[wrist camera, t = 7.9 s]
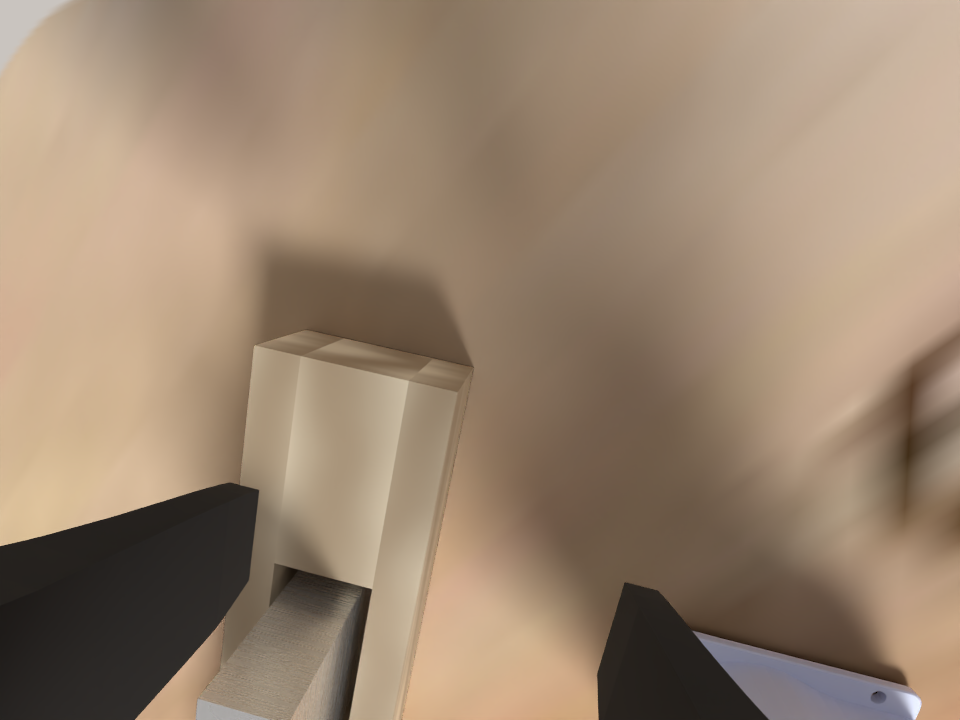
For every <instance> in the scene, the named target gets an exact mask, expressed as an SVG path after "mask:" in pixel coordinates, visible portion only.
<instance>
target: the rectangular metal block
mask: <svg viewBox="0 0 960 720" xmlns="http://www.w3.org/2000/svg"><path fill="white" fill-rule="evenodd" d="M371 593H372V589H370V588H366V587H362V586H359V585H355V584H351V583H347V582H343V581H340V580H336V579H332V578H328V577H325V576H321V575H317V574H313V573H309V572H306V571H302V570H298V572H297V573H296V574H295V575H294V577H293V578H292V579H291V580H290V582H289V583H288V584H287V586H286V587H285V588H284V589H283V591H282V592H281V593H280V594H279V596H278V597H277V598H276V600H275V601H274V602H273V603H272V605H271V606H270V607H269V608H268V610H267V611H266V612H265V614H264V615H263V616H262V617H261V619H260V620H259V621H258V622H257V624H256V625H255V626H254V628H253V629H252V630H251V631H250V633H249V634H248V635H247V636H246V638H245V639H244V640H243V642H242V643H241V644H240V645H239V647H238V648H237V649H236V650H235V652H234V653H233V654H232V656H231V657H230V658H229V659H228V661H227V662H226V663H225V664H224V666H223V667H222V668H221V670H220V671H219V672H218V673H217V675H216V676H215V677H214V678H213V680H212V681H211V682H210V684H209V685H208V686H207V687H206V689H205V690H204V691H203V692H202V694H201V695H200V696H199V698H198V700H197V711H196V720H342V718H343V716H344V714H345V712H346V709H347V707H348V705H349V702H350V700H351V698H352V696H353V693H354V690H355V684H356V678H357V673H358V667H359V661H360V656H361V650H362V644H363V638H364V633H365V627H366V621H367V616H368V610H369V604H370V599H371Z"/></svg>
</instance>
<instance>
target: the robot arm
mask: <svg viewBox="0 0 960 720" xmlns="http://www.w3.org/2000/svg"><path fill="white" fill-rule="evenodd" d="M258 498H259V490H258V489H254V488H250V487H246V486H242V485H238V484H234V483H226V484H221V485H217V486H213V487H210V488H206V489H202V490H199V491H196V492H192V493H189V494H186V495H182V496H179V497H176V498H173V499H169V500H166V501H163V502H160V503H157V504H153V505H150V506H147V507H144V508H140V509H137V510H134V511H131V512H127V513H124V514H121V515H117V516H114V517H111V518H107V519H103V520H100V521H96V522H92V523H89V524H85V525H82V526H78V527H74V528H71V529H67V530H64V531H60V532H56V533H53V534H49V535H45V536H42V537H37V538H33V539H29V540H25V541H21V542H17V543H12V544H8V545H4V546H0V720H135V719H136V718H137V717H138V715H139V714H140V713H141V712H142V711H143V710H144V709H145V708H146V706H147V705H148V704H149V703H150V702H151V701H152V700H153V699H154V698H155V696H156V695H157V694H158V693H159V692H160V691H161V690H162V689H163V687H164V686H165V685H166V684H167V683H168V682H169V681H170V680H171V679H172V677H173V676H174V675H175V674H176V673H177V672H178V671H179V670H180V668H181V667H182V666H183V665H184V664H185V663H186V662H187V661H188V659H189V658H190V657H191V656H192V655H193V654H194V653H195V651H196V650H197V649H198V648H199V647H200V646H201V645H202V644H203V642H204V641H205V640H206V639H207V638H208V637H209V635H210V634H211V633H212V632H213V631H214V630H215V629H216V627H217V626H218V625H219V623H220V622H221V620H222V619H223V618H224V616H225V615H226V613H227V612H228V611H229V609H230V608H231V606H232V605H233V603H234V602H235V601H236V599H237V598H238V596H239V595H240V593H241V592H242V590H243V589H244V587H245V586H246V584H247V583H248V581H249V576H250V567H251V559H252V550H253V541H254V532H255V524H256V515H257V506H258ZM597 679H598V713H599V720H915V719H916V717H917V715H918V712H919V710H920V708H921V704H922V702H921V699H920V698H919V697H918V695H917V694H916V693H915V692H914V691H913V690H912V689H911V688H910V687H907V686H905V685H901V684H897V683H893V682H889V681H885V680H881V679H878V678H874V677H870V676H866V675H862V674H858V673H854V672H850V671H847V670H843V669H839V668H835V667H831V666H827V665H823V664H819V663H816V662H812V661H808V660H804V659H800V658H796V657H792V656H788V655H784V654H781V653H777V652H773V651H769V650H765V649H761V648H757V647H753V646H750V645H746V644H742V643H738V642H734V641H730V640H726V639H722V638H719V637H715V636H711V635H707V634H703V633H699V632H695V631H692V630H691V629H690V628H689V626H688V625H687V624H686V623H685V622H684V620H683V619H682V618H681V617H680V616H679V614H678V613H677V612H676V611H675V610H674V608H673V607H672V606H671V605H670V604H669V602H668V601H667V600H666V599H665V598H664V597H663V596H662V595H661V594H660V592H659V591H657V590H653V589H649V588H645V587H641V586H637V585H633V584H629V583H626V582H625V583H624V587H623V590H622V593H621V597H620V600H619V603H618V607H617V610H616V613H615V617H614V620H613V623H612V627H611V630H610V633H609V637H608V640H607V643H606V647H605V650H604V653H603V657H602V660H601V663H600V667H599V670H598V673H597ZM877 691H878V692H877ZM874 692H877V693H876V694H874V695H872V694H873V693H874Z"/></svg>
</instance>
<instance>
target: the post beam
mask: <svg viewBox="0 0 960 720" xmlns="http://www.w3.org/2000/svg"><path fill="white" fill-rule="evenodd" d="M473 368H474V367H470V366H465V365H461V364H456V363H452V362H448V361H443V360H439V359H434V358H430V357H425V356H421V355H417V354H412V353H408V352H403V351H399V350H394V349H390V348H385V347H381V346H377V345H372V344H368V343H363V342H359V341H354V340H350V339H346V338H341V337H337V336H332V335H328V334H323V333H319V332H314V331H310V330H303V331H300V332H297V333H293V334H290V335H287V336H283V337H280V338H277V339H273V340H270V341H267V342H264V343H260V344H257V345H254V352H253V361H252V371H251V380H250V390H249V399H248V409H247V418H246V427H245V437H244V446H243V456H242V465H241V475H240V484H239V485H242V486H246V487H250V488H254V489H258V490H259V498H258V506H257V515H256V524H255V532H254V541H253V550H252V559H251V567H250V576H249V581H248V583H247V584H246V586H245V587H244V589H243V590H242V592H241V593H240V595H239V596H238V598H237V599H236V601H235V602H234V603H233V605H232V606H231V608H230V609H229V611H228V612H227V613H226V617H225V627H224V636H223V646H222V655H221V665H220V670H221V668H222V667H223V666H224V664H225V663H226V662H227V661H228V659H229V658H230V657H231V656H232V654H233V653H234V652H235V650H236V649H237V648H238V647H239V645H240V644H241V643H242V642H243V640H244V639H245V638H246V636H247V635H248V634H249V633H250V631H251V630H252V629H253V628H254V626H255V625H256V624H257V622H258V621H259V620H260V619H261V617H262V616H263V615H264V614H265V612H266V611H267V610H268V608H269V607H270V606H271V605H272V603H273V602H274V601H275V600H276V598H277V597H278V596H279V594H280V593H281V592H282V591H283V589H284V588H285V587H286V586H287V584H288V583H289V582H290V580H291V579H292V578H293V577H294V575H295V574H296V573H297V572H298V570H302V571H306V572H309V573H313V574H317V575H321V576H325V577H328V578H332V579H336V580H340V581H343V582H347V583H351V584H355V585H359V586H362V587H366V588H370V589H372V593H371V599H370V604H369V610H368V616H367V621H366V627H365V633H364V638H363V644H362V650H361V656H360V661H359V667H358V673H357V678H356V684H355V690H354V693H353V696H352V698H351V700H350V702H349V705H348V707H347V709H346V712H345V714H344V716H343V718H342V720H402V716H403V712H404V707H405V702H406V697H407V692H408V687H409V682H410V677H411V672H412V667H413V662H414V658H415V653H416V648H417V643H418V638H419V633H420V628H421V623H422V618H423V613H424V608H425V604H426V599H427V594H428V589H429V584H430V579H431V574H432V569H433V564H434V559H435V555H436V550H437V545H438V540H439V535H440V530H441V525H442V520H443V515H444V510H445V505H446V501H447V496H448V491H449V486H450V481H451V476H452V471H453V466H454V461H455V456H456V451H457V447H458V442H459V437H460V432H461V427H462V422H463V417H464V412H465V407H466V402H467V397H468V393H469V388H470V383H471V378H472V373H473Z"/></svg>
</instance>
